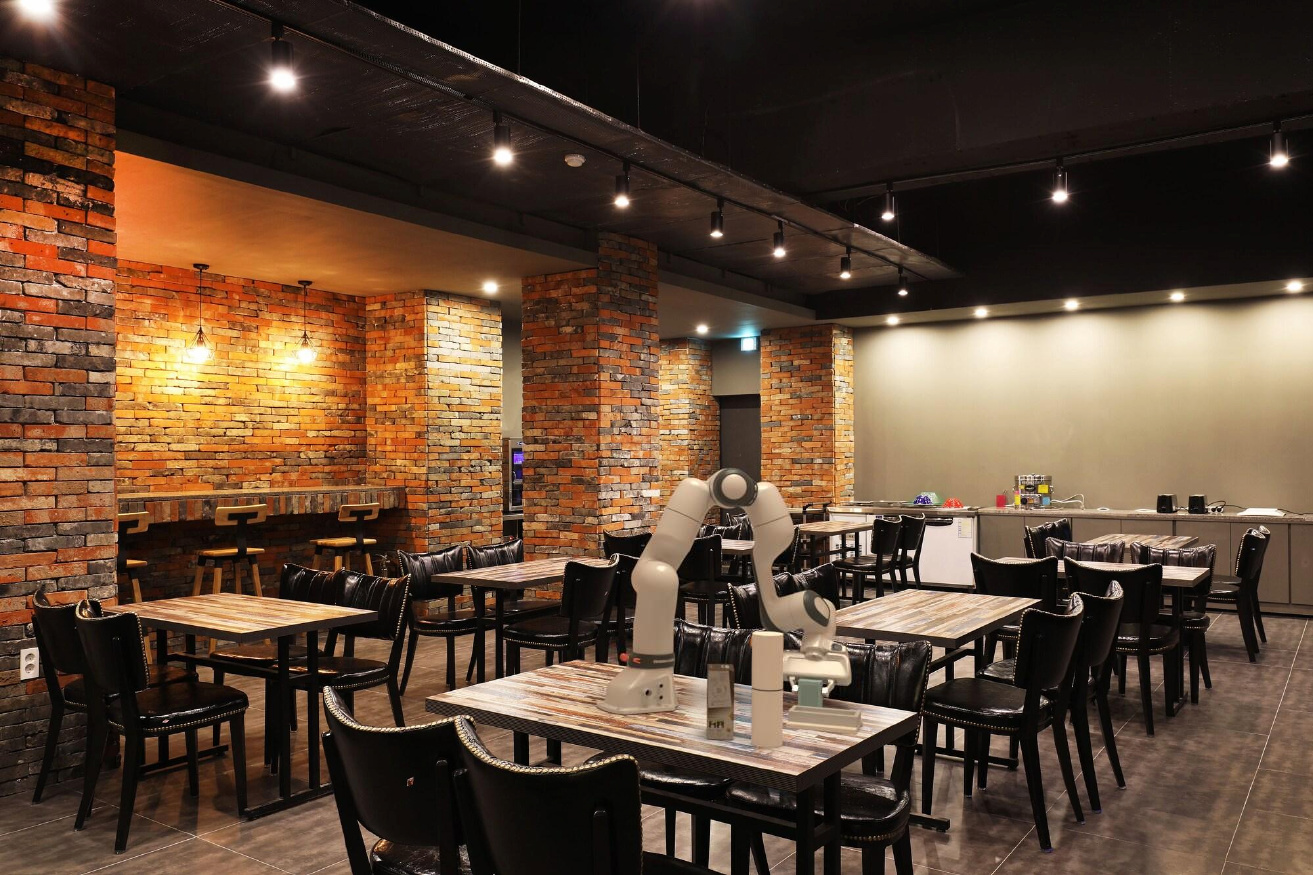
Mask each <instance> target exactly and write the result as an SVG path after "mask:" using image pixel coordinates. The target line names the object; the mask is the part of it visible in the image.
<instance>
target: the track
mask: <svg viewBox="0 0 1313 875" xmlns="http://www.w3.org/2000/svg"><path fill="white" fill-rule="evenodd" d="M861 723H862V724H863V718H862V710H854V709H843V708H842V709H841V708H831V707H830V708H828V707H823V708H821V707H809V706H798V704H797V705H795V704H794V705H792V706H791V708H789V710H787V722H786V723H785V728H787V729H797V730H805V731H806V730H807V731H817V732H826V733H838V734H849V735H857V733H858V732H859V730H860V728H861V726H862V724H861ZM860 725H861V726H860ZM859 727H860V728H859ZM858 729H859V730H858Z"/></svg>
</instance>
